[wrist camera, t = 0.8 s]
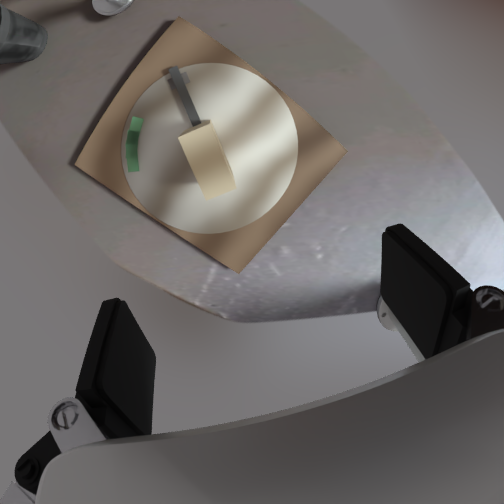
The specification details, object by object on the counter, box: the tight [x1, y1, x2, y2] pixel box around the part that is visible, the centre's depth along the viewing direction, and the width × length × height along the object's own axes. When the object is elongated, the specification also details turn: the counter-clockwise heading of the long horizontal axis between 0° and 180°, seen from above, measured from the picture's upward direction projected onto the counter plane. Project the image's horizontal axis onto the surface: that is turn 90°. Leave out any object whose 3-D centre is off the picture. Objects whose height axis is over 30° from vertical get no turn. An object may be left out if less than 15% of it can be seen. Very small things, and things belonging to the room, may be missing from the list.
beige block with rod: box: [168, 66, 237, 201], centre depth 26 cm, size 12×3×6 cm, turn 21°
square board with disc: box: [75, 17, 348, 274], centre depth 31 cm, size 23×19×2 cm
